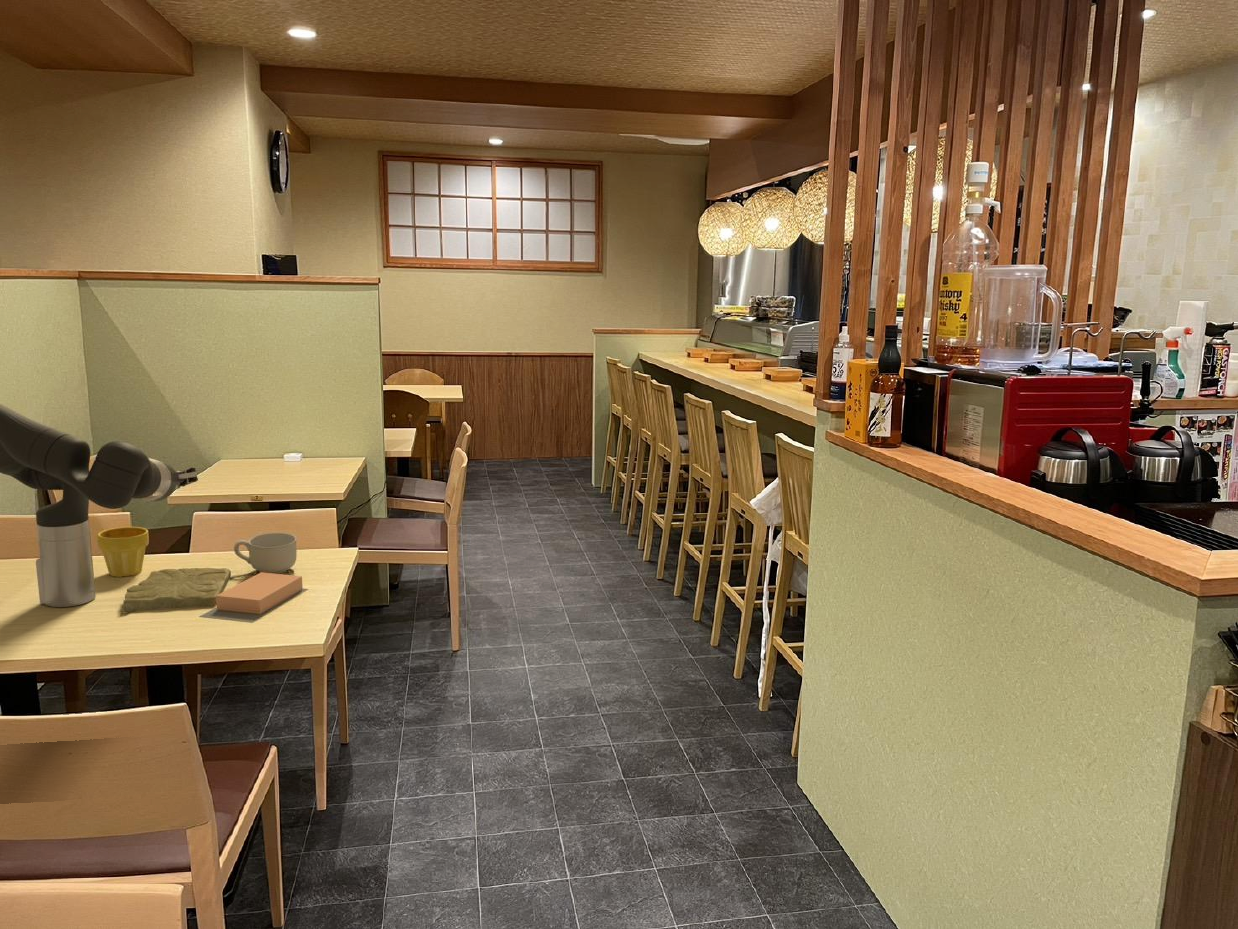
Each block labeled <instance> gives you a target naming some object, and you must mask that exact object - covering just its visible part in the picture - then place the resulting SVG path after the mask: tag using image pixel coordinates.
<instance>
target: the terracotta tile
mask: <svg viewBox="0 0 1238 929" xmlns="http://www.w3.org/2000/svg"><path fill="white" fill-rule="evenodd" d="M302 589H304V588H303V576H301V575H291V574H284V573H281V574H273V573H263V572H261V573H260V572H258V573H257V574H256V575H253V576H251V577H250V578H248V579H246V580H244V581H242V582H240V583H238V584H236V585H234V586H232V587H230V588H228V589H225V590H224V591H223V592H222V593H220V594H218V595H216V607H217V610H226V611H235V612H245V613H254V614H262V613H263V612H265V611H267V610H268V609H270V608H272V607H273V606H275V605H277V604H279V603H280V602H282V601H284V600H285V599H287V598H289V597H290V596H292V595H294V594H295V593H297V592H299V591H301V590H302Z"/></svg>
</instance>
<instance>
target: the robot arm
mask: <svg viewBox="0 0 1238 929" xmlns="http://www.w3.org/2000/svg"><path fill="white" fill-rule="evenodd" d="M90 461H91V447H90V444H88V442H87V441H86V440H84V439H82V438H81V437H78V436H75V435H72V434H70V433H66V432H64V431H61V430H58V429H56V428H52V427H50V426H48V425H45V424H42V423H39V422H37V421H35V420H32V419H30V418H28V417H26V416H25V415H23V414H21V413H19V412H16V411H15V410H13V409H11V408H9V407H8V406H5V405H4V404H1V403H0V474H2V475H5V476H10V477H12V478H13V479H15V480H17V481H18V482H20V483H22V484H24V485H25V486H26V487H29V488H31V489H34V490H40V491H62V497H61V499H60V500H59V501H57V502H54V503H50V504H47V505H44V506H42V507H40V508H39V509H38V510H36V513H35V518H36V520H35V521H36V528H37V538H38V548H39V549H38V550H39V558H37V559H36V560H35V566H36V567H35V568H36V577H37V588H38V598H39V604H41V605H45V606H48V607H51V608H52V607H53V608H65V607H66V608H68V607H75V606H80V605H83V604H86V603H89V602H91V601H93V600H94V599H96V585H95V573H94V563H93V562H94V561H93V551H92V550H93V549H92V539H91V529H90V519H89V517H90V516H89V506H90V505H89V504H90V502H92V503H93V504H95V505H97V506H99V507H102V508H105V509H110V510H117V509H122V508H124V507H126V506H127V505H128V504H130V502H131V501H132V499H134V500H137V501H145V502H159V501H163V500H166V499H168V497H170V496H171V495H172V494H173V493H174V491H175V490H179V489H180V488H181V487H186V486H187V485H188V486H189V485H190V484H193V483H195V482H198V481H199V479H198V474H197V471H196V467H190V468H188V469H184V470H183V471H180V470H175V469H174V468H173V467H172V465H170V464H168V463H167V462H166V461H162V460H160V459H155V458H150V457H148V455H146V453H144V451H142V450H141V449H140V448H138V447H137V446H135V445H133V444H131V443H129V442H124V441H120V440H119V441H117V440H116V441H115V440H114V441H109V442H107V443H105V444H104V445H103V446H101V447H100V448H99V450H98V451H97V454H96V456H95V459H94V460H93V463H92V465H91V467H90Z"/></svg>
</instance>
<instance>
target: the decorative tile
mask: <svg viewBox="0 0 1238 929" xmlns="http://www.w3.org/2000/svg"><path fill="white" fill-rule="evenodd" d="M231 576H232V571H231V570H230V569H229V568H227V567H223V568H222V567H221V568H215V567H195V568H194V567H190V568H187V567H186V568H184V567H183V568H178V569H176V568H167V569H161V570H153V571H151V572H150V573H149V575H148V576H147V577H146V578H145V579H144V580H142V581H140V582H139V583H138V584H136V585H132V586H130V587H127V589H126V593H125V594H124V599H123V606H122V612H130V613H136V612H138V611H148V610H164V609H165V610H166V609H184V608H185V609H186V608H199V607H200V608H201V607H202V608H203V607H217V605H216V595H218V594H220V593H222V592H224V591H225V590H226V587H227V585H228V583H229V581H230V580H231V579H232V578H231Z"/></svg>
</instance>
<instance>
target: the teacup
mask: <svg viewBox="0 0 1238 929" xmlns="http://www.w3.org/2000/svg"><path fill="white" fill-rule="evenodd" d="M297 541H298V538H297V536H296V535H294V534H291V533H287V532H267V533H261V534H257V535H254V536H252V537H251V538H249V539H248V540H246V539H240V540H237V542H235V543H234V546H233V552H234V553H235V555H236V556H237V557H238V558H240V559H241V560H244V561H246V563H248V565H251V567H252V569H254V570H255V571H257V572H258V573H261V572H263V573H273V574H280V573H281V574H284V573H287V572H288V571H289V570H290V569H291V568H293V567H294V565H295V564H296V562H297V557H298V556H297V552H298V551H297ZM242 545H243V546H245V547H246V549H247V551H248V555H245V554H243V553H242V551H240V549H239V547H240V546H242ZM287 570H288V571H287ZM283 572H284V573H283Z"/></svg>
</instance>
